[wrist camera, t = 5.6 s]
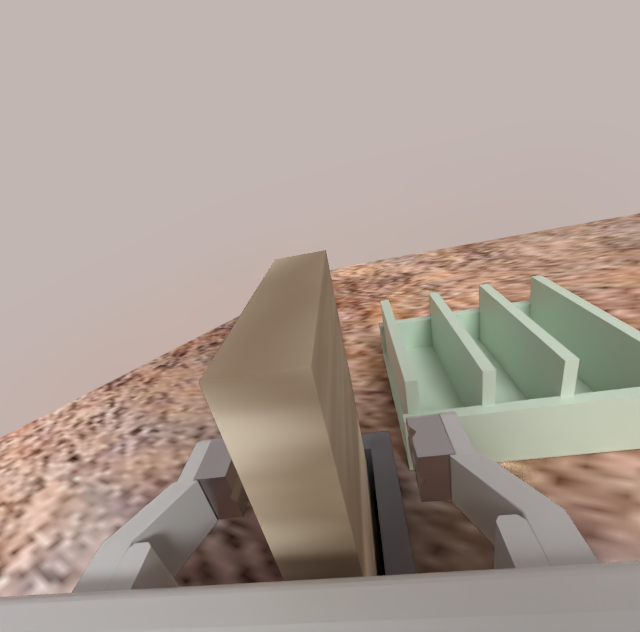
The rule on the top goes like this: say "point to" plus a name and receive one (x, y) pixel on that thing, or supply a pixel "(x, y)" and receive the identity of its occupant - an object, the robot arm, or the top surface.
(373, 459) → the board stand
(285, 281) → the maple board
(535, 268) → the top surface
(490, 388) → the dish rack
